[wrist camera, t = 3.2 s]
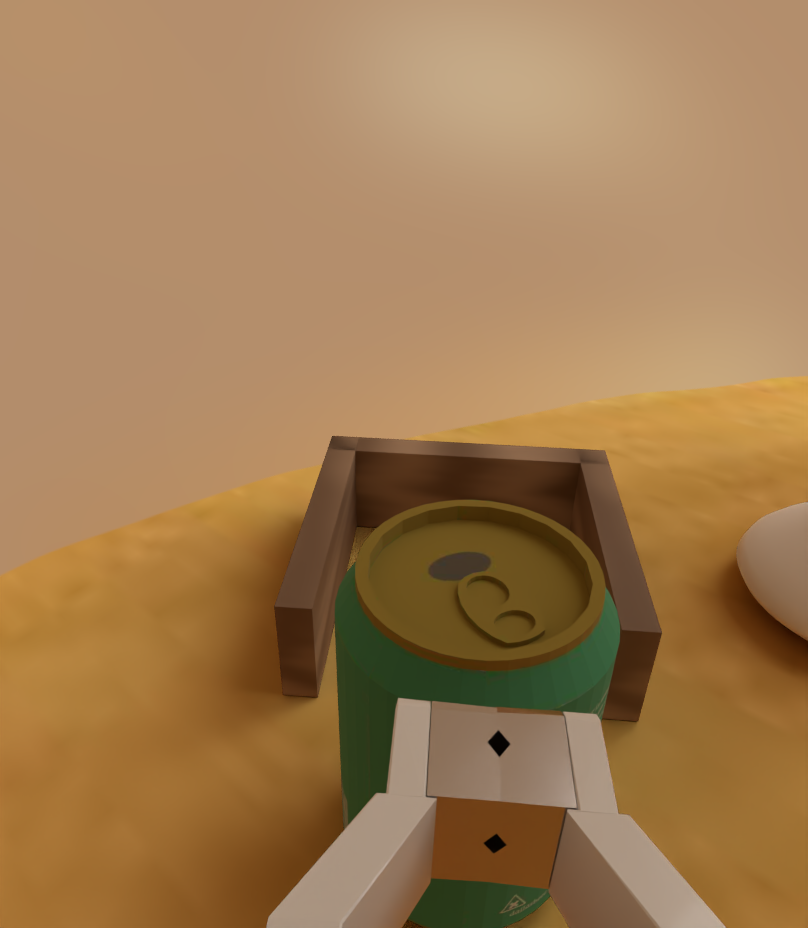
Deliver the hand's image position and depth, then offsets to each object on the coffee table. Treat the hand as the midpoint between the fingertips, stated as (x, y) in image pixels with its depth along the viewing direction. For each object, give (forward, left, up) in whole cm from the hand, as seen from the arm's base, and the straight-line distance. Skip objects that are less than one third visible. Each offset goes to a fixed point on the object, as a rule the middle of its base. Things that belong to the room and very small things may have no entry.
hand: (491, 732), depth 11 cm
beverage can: (0, -8, -16) cm, 18 cm away
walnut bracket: (0, -21, -16) cm, 26 cm away
